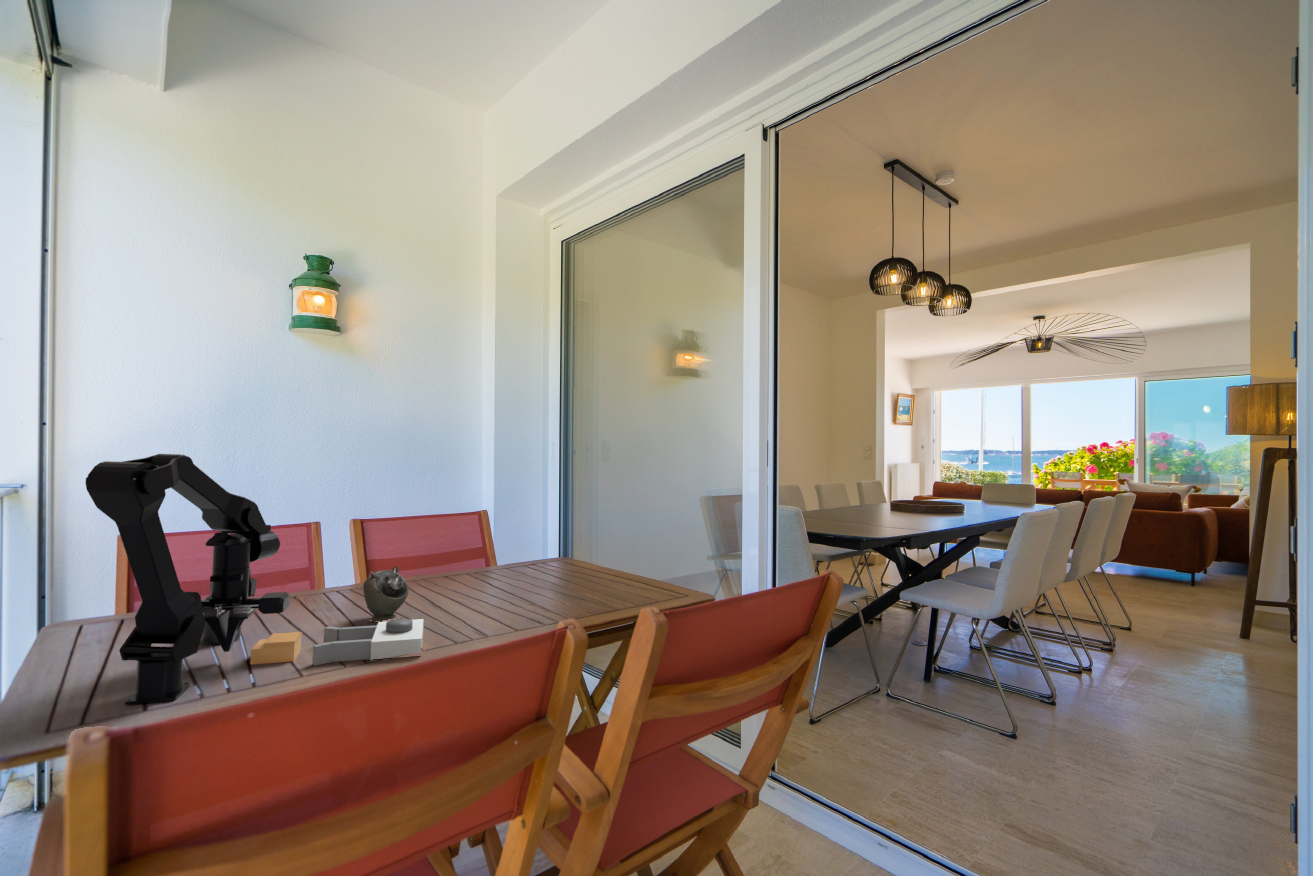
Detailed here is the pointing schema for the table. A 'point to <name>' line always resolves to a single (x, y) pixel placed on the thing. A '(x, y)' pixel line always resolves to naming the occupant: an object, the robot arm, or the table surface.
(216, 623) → the robot arm
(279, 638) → the orange stepped block
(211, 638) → the supplement bottle
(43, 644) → the table surface
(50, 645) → the table surface
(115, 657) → the table surface
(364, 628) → the forked block with knob
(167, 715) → the table surface
